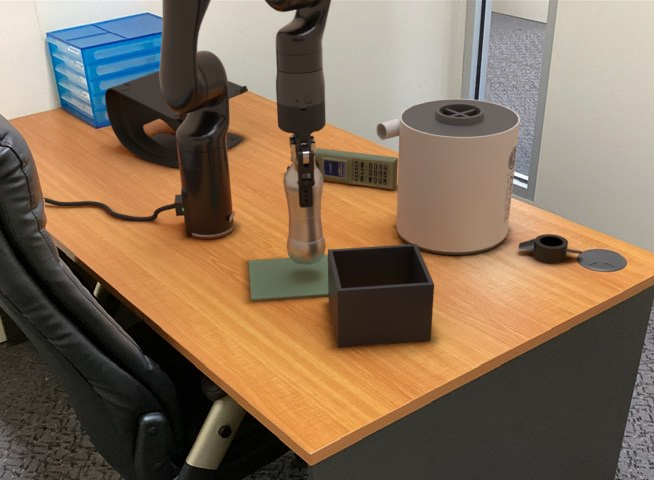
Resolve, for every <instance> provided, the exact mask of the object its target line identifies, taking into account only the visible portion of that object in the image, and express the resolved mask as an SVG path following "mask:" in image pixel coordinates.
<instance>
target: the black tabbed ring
mask: <svg viewBox="0 0 654 480" xmlns="http://www.w3.org/2000/svg"><path fill="white" fill-rule="evenodd" d="M568 247H569V241H568V239H567V238H565V237H564V236H561V235H559V234H552V233H546V234H540V235H538V236H536V237H535V238H532V239H528V240H526V241H522V242H519V243H518V250H526V251H532V257H533V259H535V260H536V261H538V262H541V263H544V264H552V265H553V264H559V263H563V262H564V261H566V259H567V253H572V254H578V255H582V254H583V250H577V249H571V248H568Z"/></svg>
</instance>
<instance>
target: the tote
mask: <svg viewBox="0 0 654 480" xmlns="http://www.w3.org/2000/svg"><path fill="white" fill-rule="evenodd" d="M327 255H328V296H327V297H328V307H329V312H330V317H331V321H332V325H333V330H334V336H335V340H336V344H337V348H347V347H348V348H350V347H363V346H377V345H390V344H405V343H418V342H430V341H431V340H432V327H433V325H432V324H433V311H434V295H435V283H434V280H433V277H432V275H431V274H430V271H429V269H428V266H427V264H426V262H425V260H424V257H423V255H422V252H421V249H419V248H418V246H417V244H408V243H406V244H395V245H391V244H390V245H379V246H376V245H375V246H361V247H348V248H347V247H346V248H335V249H334V248H332V249H331V248H330V249H327Z"/></svg>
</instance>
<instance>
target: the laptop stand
mask: <svg viewBox="0 0 654 480" xmlns="http://www.w3.org/2000/svg"><path fill="white" fill-rule="evenodd" d="M159 71H160V70H158V71H155V72H152V73H148V74H146V75H143V76H140V77H137V78H135V79H131V80H128V81H126V82H123V83H120V84H117V85H114V86H111V87H109V88H107V89H106V90H105V93H104V101H105V102H104V103H105V110H106V115H107V118H108V121H109V124H110V126H111V129H112V131H113V133H114V135H115V137H116V138H117V140H118V141H119V143H120V144H121V145H122V146H123V147H124V148H125V149H126V150H127V151H129V152H130V153H131V154H133V155H134V156H135V157H138V158H139V159H142V160H145V161H147V162H150V163H153V164H157V165H161V166H164V167H168V168H173V169H179V161H178V152H177V144H176V134H171V133H166V132H159V133H156V134H153V135H151V136H150V135H148V134H147V132H146V131H145V129H144V126H145V125H148V124H151V123H152V122H155V121H158V120H161V121H163V122H164V123H165V124H166V125H167V126H168V127H169V128H170V129H172V130H173V131H175V132H176V131H177V129H178V127H179V126H180V125H181V124H182V123H183V121H184V120H185V119H186V117H187V115H188V113H187V114H178V113H175V112H174V111H172V110H171V109H170V108H169V107H168V106H167V104H166V102H165V100H164V98H163V96H162V93H161V88H160V79H159ZM228 88H229V100H230V99H232V98H233V99H234V98H235V97H237V96H240V95H243V94H245V93H247V92H248V91H249V88H247V85H243V86H242V85H241V84H238V83H235V82H232V81H229V80H228ZM243 140H244V138H243V136H241V135H239V134H236V133H231V132H229V131H228V132H227V150H229V149H231V148H233V147H235V146H236V145H238V144H240V143H241V142H243Z"/></svg>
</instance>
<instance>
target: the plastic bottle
mask: <svg viewBox="0 0 654 480" xmlns="http://www.w3.org/2000/svg"><path fill="white" fill-rule="evenodd" d="M296 158H297V155H296ZM290 162H291V164H290V165H289V166H290V167H289V168H288V170H287V169H286V171H285V173H284V175H283V181H282V182H283V188H284V193H285V197H286V204H287V211H288V231H287V232H288V233H287V234H288V235H287V240H286V252H287V255H288V258H291V260H292V261H293V262H295V263H298V264H304V265H308V264H314V263H317V262H319V261H321V259H322V258H323V257H324V256H325V255H326V248H327V245H326V240H325V236H324V231H323V224H322V200H323V199H322V197H323V191H324V190H323V189H324V181H323V177H322V174H321V172H320V171H319V169H318V168H317V167H316V165H315V169H314V181H315V184H314V186H312V188H313V206H312V207H306V208H301V207H300V206H299V189H298V184H297V181H298V179H297V172H295V171H294V167H293V154H292V153H291V152H290ZM297 164H298V162H297ZM302 178H310V175H309V173H308V174H302Z"/></svg>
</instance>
